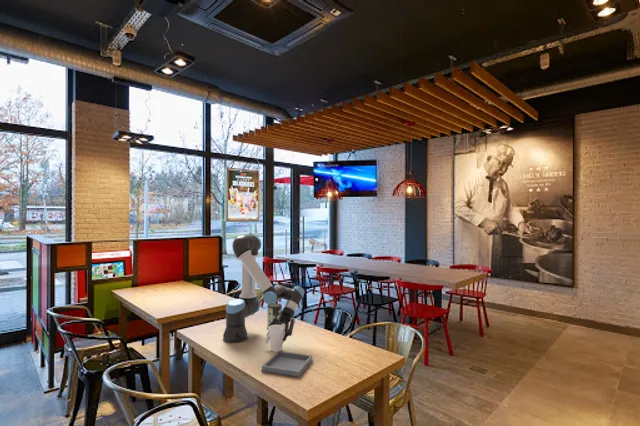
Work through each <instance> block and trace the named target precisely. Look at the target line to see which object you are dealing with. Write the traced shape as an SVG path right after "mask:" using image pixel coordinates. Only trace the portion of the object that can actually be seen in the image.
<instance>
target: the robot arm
mask: <svg viewBox="0 0 640 426" xmlns="http://www.w3.org/2000/svg"><path fill="white" fill-rule="evenodd" d="M231 247H232V251H233V253H234V256H235V257H236V259H237V260H238V261H240V262H241V263H242V264H241V265H242V268H241V269H242V271H241V293H240V294H239V298H236V299H231V300H229V301H228V302H227V303H226V307H225V329H224V332H223V335H222V339H223V340H222V341H224V342H226V343H231V344H232V343H240V342H244V341H247V339H248V338H249V336H248V330H247V327H246V318H249V317H250V316H253V315H255V314H256V313H257V312H258V311H259V309H260V306H261V304H260V300H259V299H258V294H257V293H256V291H255V290H256V285H257V288H259V290H260V291H261V293H262V295H263V296H262V298H263V302H264V303H265V304H267V305H268V304H273V303H277V302H278V301H281V300H285V301H286V302H285V304H284V307H282V314H281V315H280V316H277V315H276V316H275V318H274V320H273V321H272V322H271V323H270V325H269V326H271V325H281V324H282V325H284V327H285V332H284V334H283V336H282V338H281V340H280V342H279V344H278V345H279V346H280V347H282V348H283V344H284V342H286V340H288V339H287V338H288V337H292V334H293V329H294V325H295V323H296V319H294V316H295V313H296V311H297V310H298V308H299V306H300V303H301V301H302V299H303V297H304V294H305V290H304V288H303V287H302V286H299V285H296V286H294V287H292V288H290V287H288V286H287V287H286V286H285V285H280V284H275V285H273V284H272V283H271V281H270V279H269V277H268V276H267V275H266V273H265V272H264V270H263V268H261V266H260V265H259V263H258V261H256V260H257V257H258V255H259V250H260V249H261V248H262V240H261V238H260V237H259V236H258V235H257V234H245V235H244V234H243V235H238V236H237V237H235V239H233V241H232V246H231ZM269 326H268V325H267V327H266V329H267V330H268V327H269ZM264 342H265V344H268V343H270V338H269V332H268V331H267V333H266V337H265V339H264Z"/></svg>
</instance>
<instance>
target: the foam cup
mask: <svg viewBox="0 0 640 426" xmlns="http://www.w3.org/2000/svg"><path fill="white" fill-rule="evenodd" d="M267 327H268V326H267ZM267 330H268V331H267V333H268V332H269V338H270V340H269V345H270V351H271V352H275V353H277V352H278V351H283V346H282V347H280V346H279V345H278V344H279V342H280V340H281V338H282V336H283V334H284V333H285V325H284V324H282V325H271V326H269V327H268V329H267Z"/></svg>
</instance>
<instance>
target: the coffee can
mask: <svg viewBox="0 0 640 426" xmlns="http://www.w3.org/2000/svg"><path fill="white" fill-rule="evenodd" d="M282 306H283V304H282V303H279V302H278V303H277V302H275V303H273V304H267V305H266V307H267V316H266V317H267V322H266V323H267V324H266V326H267V327H268V326H269V325H270V323H271V322H272V321H273V320H274V318H275V316H276V315H277V316H280V315H281V314H282V310H283V307H282ZM281 325H283V324H281Z"/></svg>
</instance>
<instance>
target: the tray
mask: <svg viewBox="0 0 640 426" xmlns="http://www.w3.org/2000/svg"><path fill="white" fill-rule="evenodd" d="M312 362H313V355H311V354H304V353H295V352H291V351H290V352H289V351H283V350H281V351H278V352H275V353H274V354H273V355H272V356H271V357H270V358H269V359H267V361H265V362H264V363H263V364H262V365H261V373H266V374H272V375H279V376H283V377H290V378H297V379H299V378H300V377H301V376H302V375H303V374H304V372H305V371H306V370H307V368H308V367H310V365H311V364H312Z"/></svg>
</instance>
